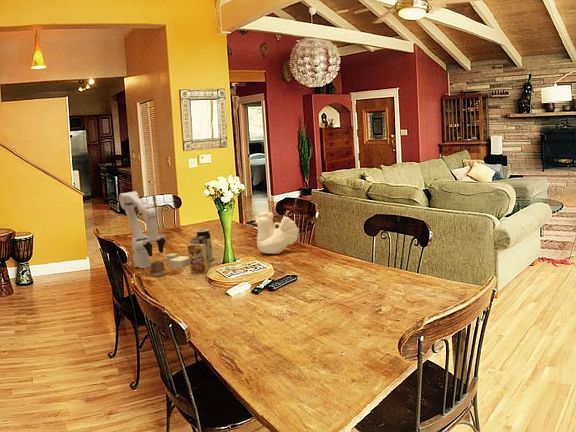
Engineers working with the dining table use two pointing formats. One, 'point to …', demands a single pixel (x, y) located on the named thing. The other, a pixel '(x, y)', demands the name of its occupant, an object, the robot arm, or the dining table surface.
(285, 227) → the decorative rooster
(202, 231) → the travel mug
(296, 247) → the dining table surface
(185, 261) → the base block
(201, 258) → the candy box
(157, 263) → the walnut block
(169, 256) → the sage block
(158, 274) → the card
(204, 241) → the coffee box
